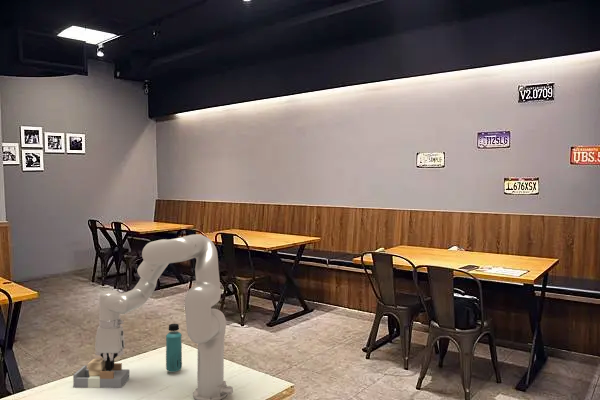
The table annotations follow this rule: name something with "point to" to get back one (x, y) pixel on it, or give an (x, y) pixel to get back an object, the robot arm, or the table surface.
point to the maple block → (96, 366)
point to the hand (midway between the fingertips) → (109, 369)
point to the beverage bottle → (173, 349)
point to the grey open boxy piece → (101, 378)
